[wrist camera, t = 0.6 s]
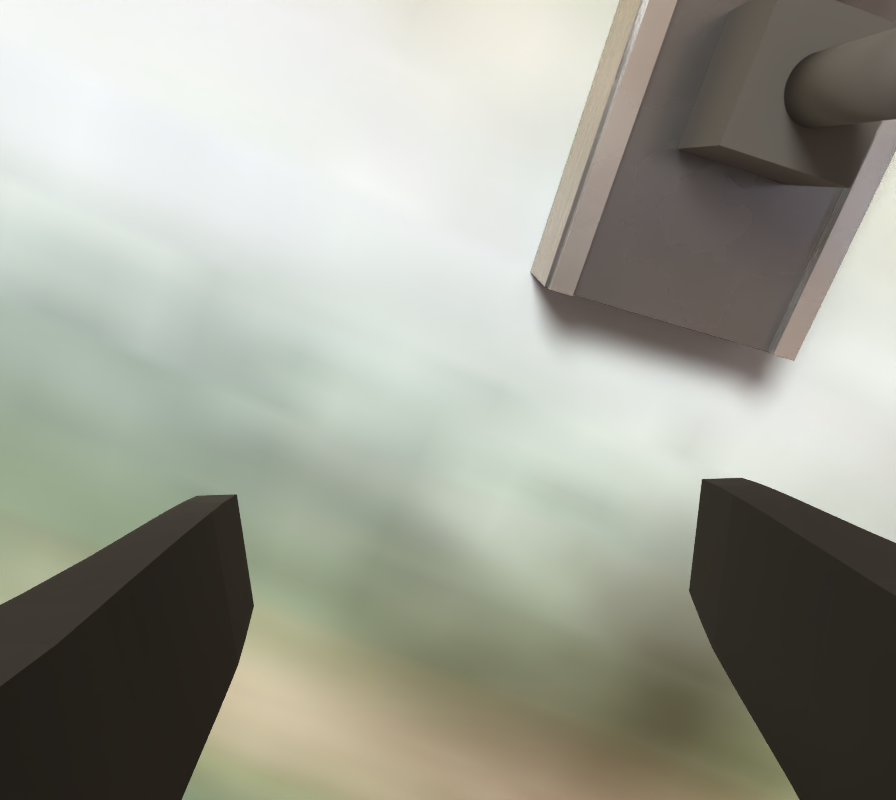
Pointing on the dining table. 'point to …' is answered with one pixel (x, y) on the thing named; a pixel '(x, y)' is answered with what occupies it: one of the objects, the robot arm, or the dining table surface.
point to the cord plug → (796, 91)
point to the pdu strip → (692, 196)
